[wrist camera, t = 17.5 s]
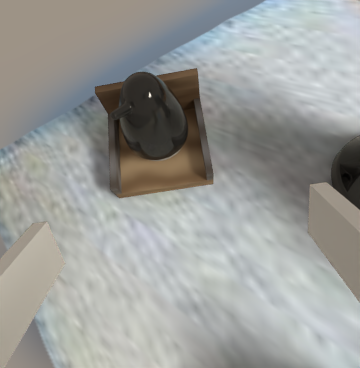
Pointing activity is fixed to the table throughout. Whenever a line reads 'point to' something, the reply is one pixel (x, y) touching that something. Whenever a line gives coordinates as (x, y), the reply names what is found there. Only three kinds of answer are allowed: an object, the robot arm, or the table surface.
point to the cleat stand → (167, 169)
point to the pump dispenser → (151, 117)
